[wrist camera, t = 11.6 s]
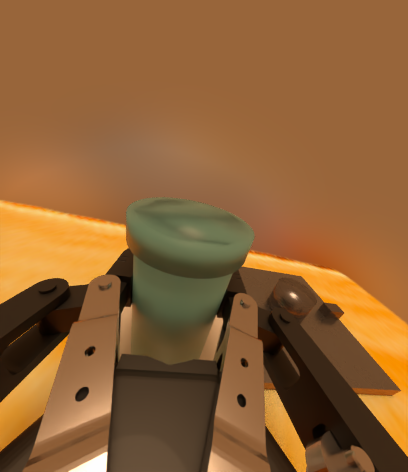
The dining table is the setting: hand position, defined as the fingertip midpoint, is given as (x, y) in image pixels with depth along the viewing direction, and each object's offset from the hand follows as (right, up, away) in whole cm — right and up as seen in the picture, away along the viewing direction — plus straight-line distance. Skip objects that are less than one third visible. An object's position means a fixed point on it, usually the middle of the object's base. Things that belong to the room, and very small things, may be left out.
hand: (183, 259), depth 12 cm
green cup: (-1, -6, 0) cm, 6 cm away
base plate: (+11, -8, +7) cm, 15 cm away
